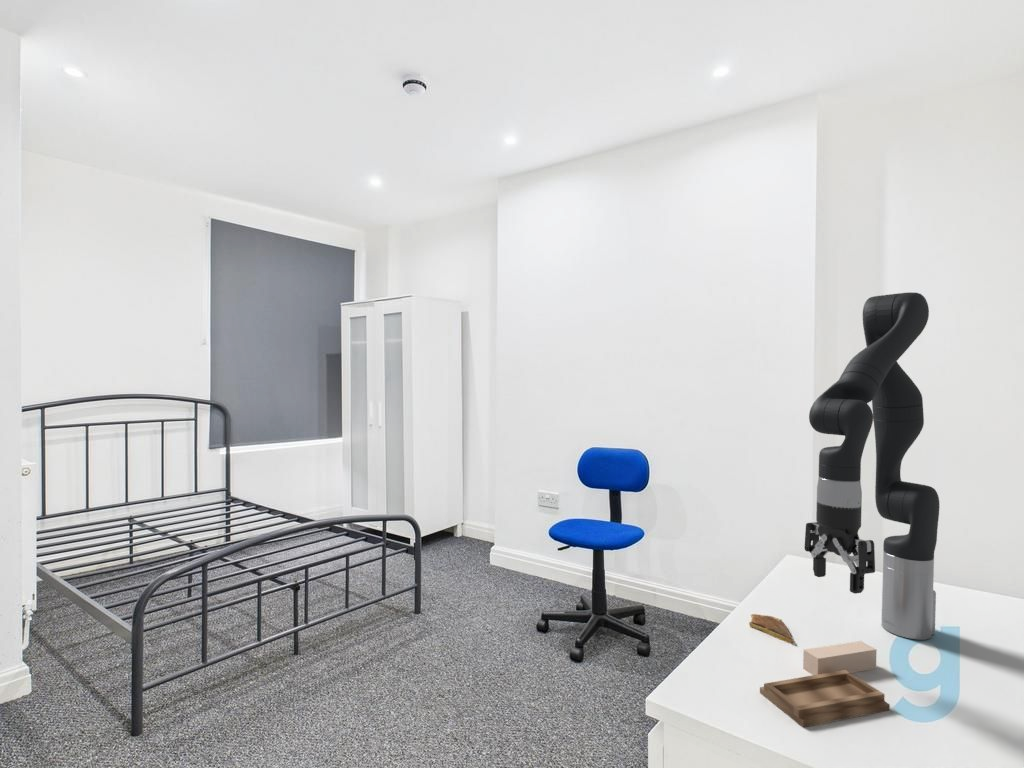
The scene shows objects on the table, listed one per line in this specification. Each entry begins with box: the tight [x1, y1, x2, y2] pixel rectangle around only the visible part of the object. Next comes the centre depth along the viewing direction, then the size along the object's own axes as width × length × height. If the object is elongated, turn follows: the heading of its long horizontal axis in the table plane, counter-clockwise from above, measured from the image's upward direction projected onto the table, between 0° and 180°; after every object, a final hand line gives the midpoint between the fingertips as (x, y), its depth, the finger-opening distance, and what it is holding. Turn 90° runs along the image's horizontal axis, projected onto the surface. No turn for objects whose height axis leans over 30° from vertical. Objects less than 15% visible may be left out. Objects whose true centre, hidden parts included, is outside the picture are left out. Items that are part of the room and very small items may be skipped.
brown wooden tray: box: [759, 670, 891, 728], centre depth 97 cm, size 18×10×2 cm, turn 106°
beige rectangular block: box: [802, 640, 877, 676], centre depth 108 cm, size 14×4×4 cm, turn 106°
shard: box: [748, 613, 794, 644], centre depth 123 cm, size 11×8×2 cm
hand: (837, 584), depth 108 cm, fingers open, 8 cm apart
